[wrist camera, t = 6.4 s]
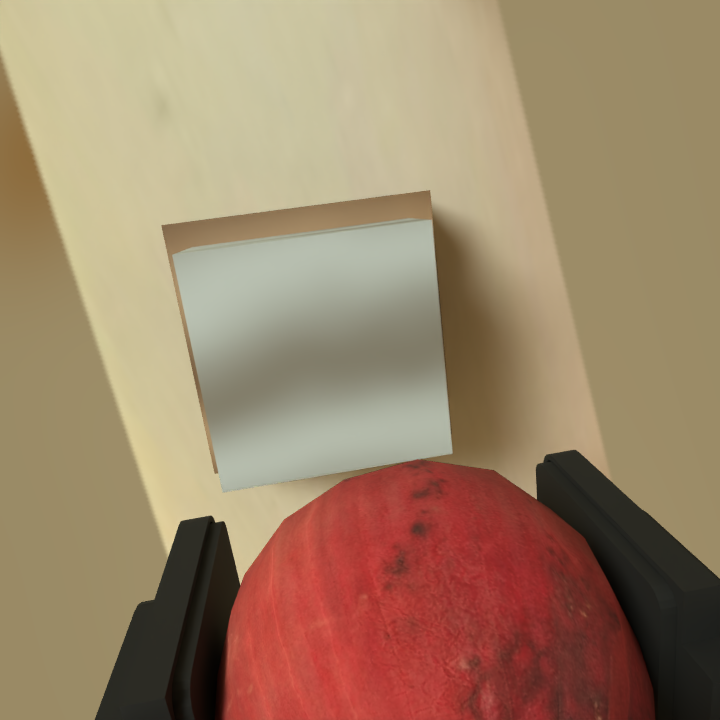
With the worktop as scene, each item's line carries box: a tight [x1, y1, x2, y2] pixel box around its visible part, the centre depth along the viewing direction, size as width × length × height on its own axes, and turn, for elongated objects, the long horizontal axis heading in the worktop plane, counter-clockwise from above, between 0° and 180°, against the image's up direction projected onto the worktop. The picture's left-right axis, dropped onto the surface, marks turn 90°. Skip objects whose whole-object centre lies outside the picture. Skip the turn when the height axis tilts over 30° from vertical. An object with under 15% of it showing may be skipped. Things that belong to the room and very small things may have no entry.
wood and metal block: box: [161, 190, 453, 492], centre depth 25 cm, size 11×11×8 cm
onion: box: [215, 459, 655, 720], centre depth 8 cm, size 6×6×8 cm
